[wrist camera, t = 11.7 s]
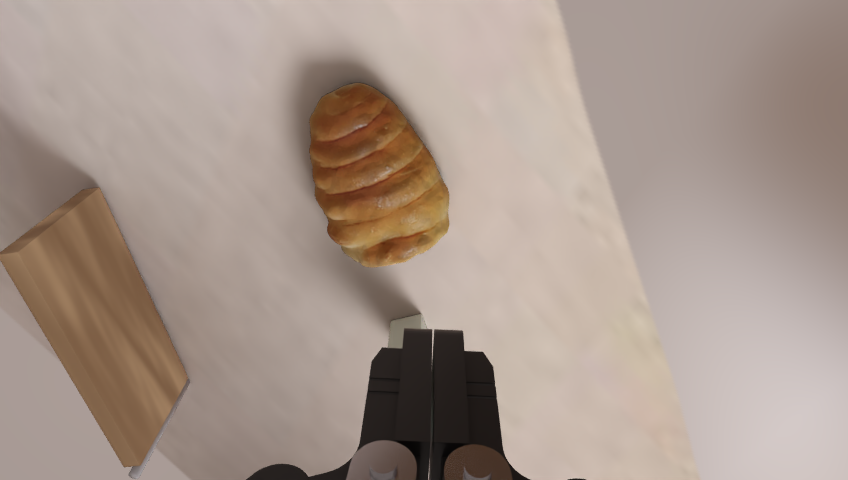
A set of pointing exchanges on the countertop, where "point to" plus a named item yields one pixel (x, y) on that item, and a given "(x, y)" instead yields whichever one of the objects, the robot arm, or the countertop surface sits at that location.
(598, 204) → the countertop surface
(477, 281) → the countertop surface
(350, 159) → the pastry
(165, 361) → the door
